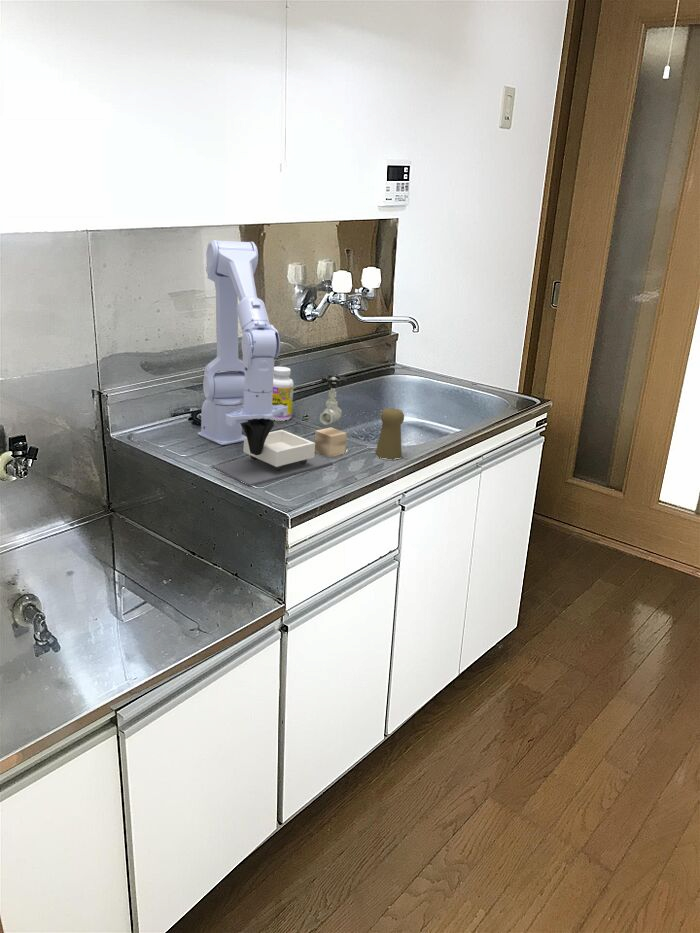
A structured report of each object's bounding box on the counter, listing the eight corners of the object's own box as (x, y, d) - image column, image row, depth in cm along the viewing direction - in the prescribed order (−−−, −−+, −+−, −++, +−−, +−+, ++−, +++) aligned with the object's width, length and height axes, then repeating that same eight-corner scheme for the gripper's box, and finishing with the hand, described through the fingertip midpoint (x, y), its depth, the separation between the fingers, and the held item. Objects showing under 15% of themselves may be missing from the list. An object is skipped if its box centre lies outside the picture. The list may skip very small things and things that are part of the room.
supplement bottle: (262, 419, 195) (264, 369, 191) (269, 413, 202) (271, 364, 197) (288, 423, 195) (291, 373, 190) (294, 416, 201) (297, 367, 196)
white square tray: (243, 459, 165) (244, 437, 163) (280, 450, 172) (282, 429, 171) (275, 474, 158) (277, 451, 157) (313, 464, 166) (315, 443, 164)
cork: (401, 453, 180) (407, 407, 176) (401, 461, 174) (406, 414, 171) (376, 450, 181) (380, 404, 177) (374, 458, 175) (378, 411, 171)
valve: (313, 424, 196) (316, 377, 191) (323, 418, 201) (326, 372, 197) (337, 429, 194) (341, 382, 189) (346, 422, 199) (350, 376, 195)
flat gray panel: (212, 468, 161) (212, 466, 160) (295, 448, 177) (295, 446, 176) (249, 486, 153) (249, 484, 153) (332, 464, 169) (332, 462, 169)
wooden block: (313, 451, 176) (315, 430, 174) (329, 447, 180) (331, 427, 178) (329, 458, 173) (331, 436, 171) (345, 454, 176) (346, 433, 175)
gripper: (242, 398, 148) (239, 465, 152) (298, 389, 158) (294, 452, 162) (219, 390, 152) (217, 455, 157) (276, 381, 162) (272, 443, 167)
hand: (255, 453), depth 160 cm, fingers closed
